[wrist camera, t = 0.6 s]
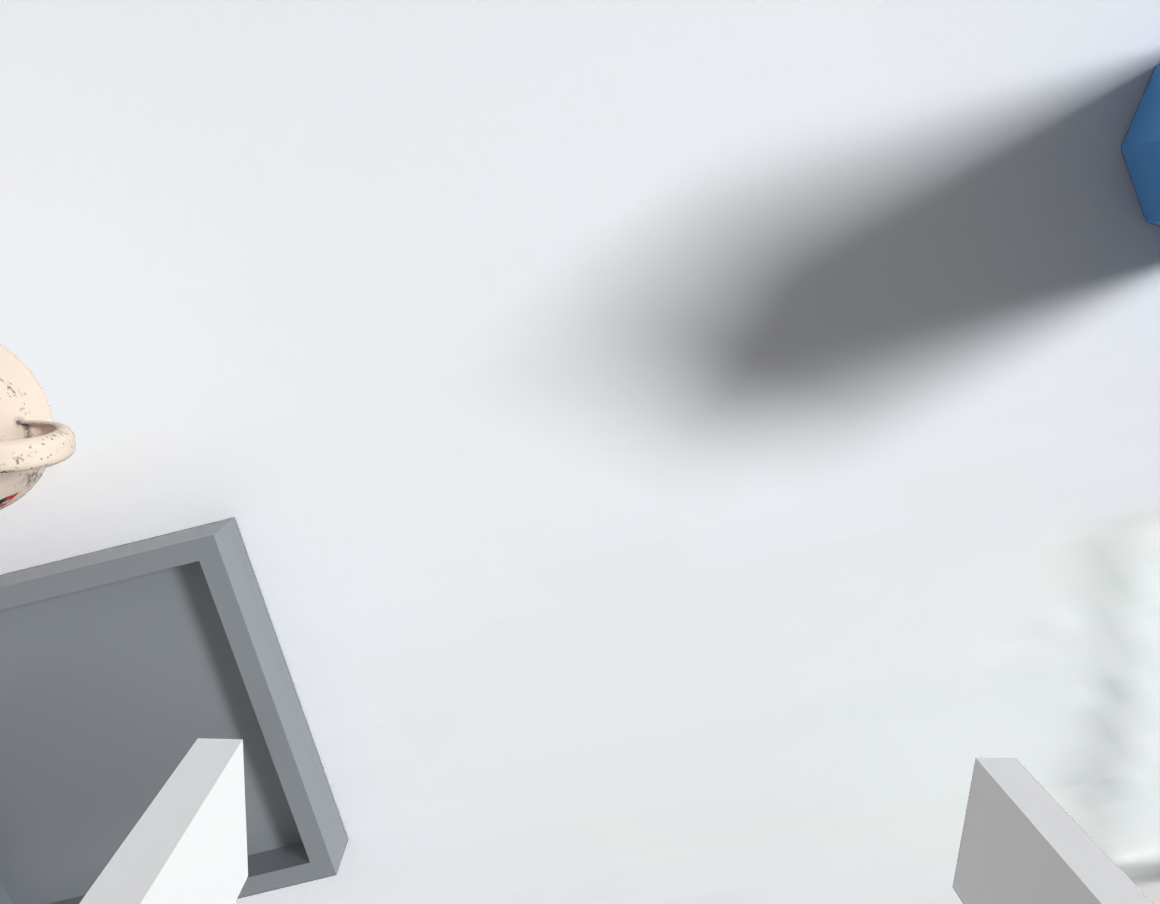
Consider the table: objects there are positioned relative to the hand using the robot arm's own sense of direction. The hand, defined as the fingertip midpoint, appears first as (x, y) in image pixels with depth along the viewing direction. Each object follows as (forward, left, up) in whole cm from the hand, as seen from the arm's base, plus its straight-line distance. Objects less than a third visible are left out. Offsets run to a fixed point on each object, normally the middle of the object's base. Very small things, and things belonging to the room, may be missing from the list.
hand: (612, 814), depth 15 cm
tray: (+7, -25, -26) cm, 36 cm away
